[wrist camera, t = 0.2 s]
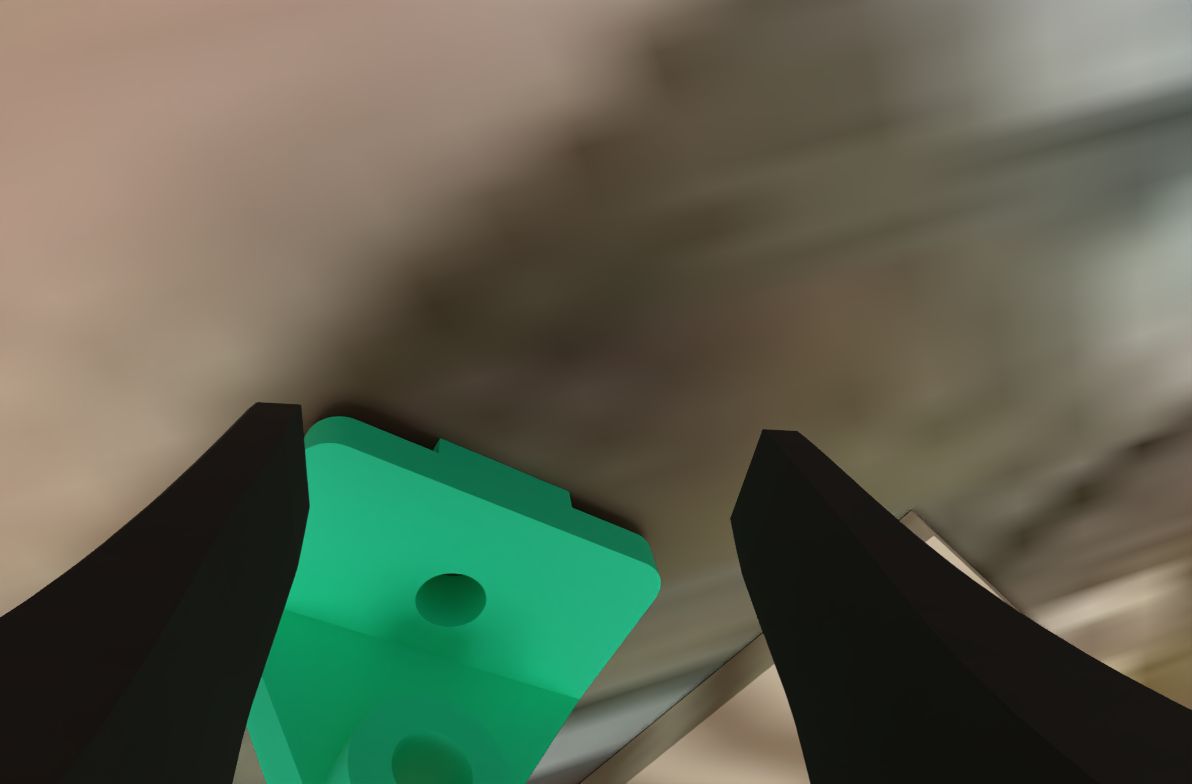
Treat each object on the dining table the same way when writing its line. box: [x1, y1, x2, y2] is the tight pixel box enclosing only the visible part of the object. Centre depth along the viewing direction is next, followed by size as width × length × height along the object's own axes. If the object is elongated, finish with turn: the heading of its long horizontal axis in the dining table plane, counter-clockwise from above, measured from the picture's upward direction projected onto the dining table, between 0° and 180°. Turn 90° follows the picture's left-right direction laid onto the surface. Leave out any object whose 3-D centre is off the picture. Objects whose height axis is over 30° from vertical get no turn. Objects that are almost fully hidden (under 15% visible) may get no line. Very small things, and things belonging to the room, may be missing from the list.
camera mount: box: [246, 416, 661, 784], centre depth 21 cm, size 12×8×10 cm, turn 59°
